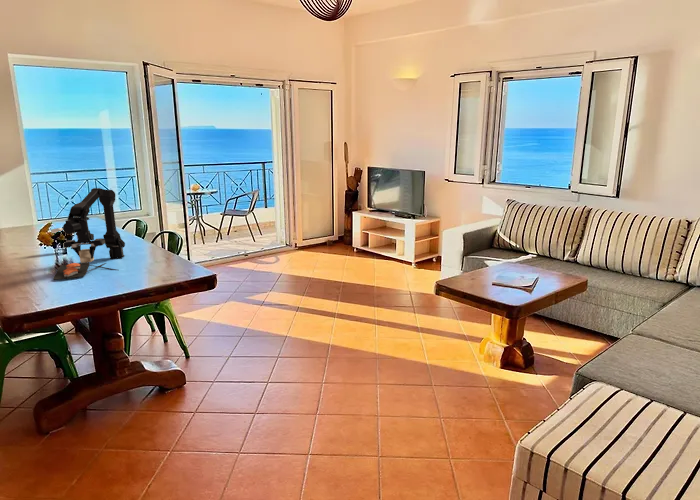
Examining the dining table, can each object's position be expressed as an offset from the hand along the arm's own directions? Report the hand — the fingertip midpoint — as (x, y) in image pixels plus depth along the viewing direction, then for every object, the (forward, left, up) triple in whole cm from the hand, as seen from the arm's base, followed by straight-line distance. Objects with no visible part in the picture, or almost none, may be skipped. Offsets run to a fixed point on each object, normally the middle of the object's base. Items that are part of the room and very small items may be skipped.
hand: (87, 258), depth 253 cm
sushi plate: (0, 0, -7) cm, 7 cm away
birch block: (0, 0, -1) cm, 1 cm away
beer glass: (+31, -45, -7) cm, 55 cm away
